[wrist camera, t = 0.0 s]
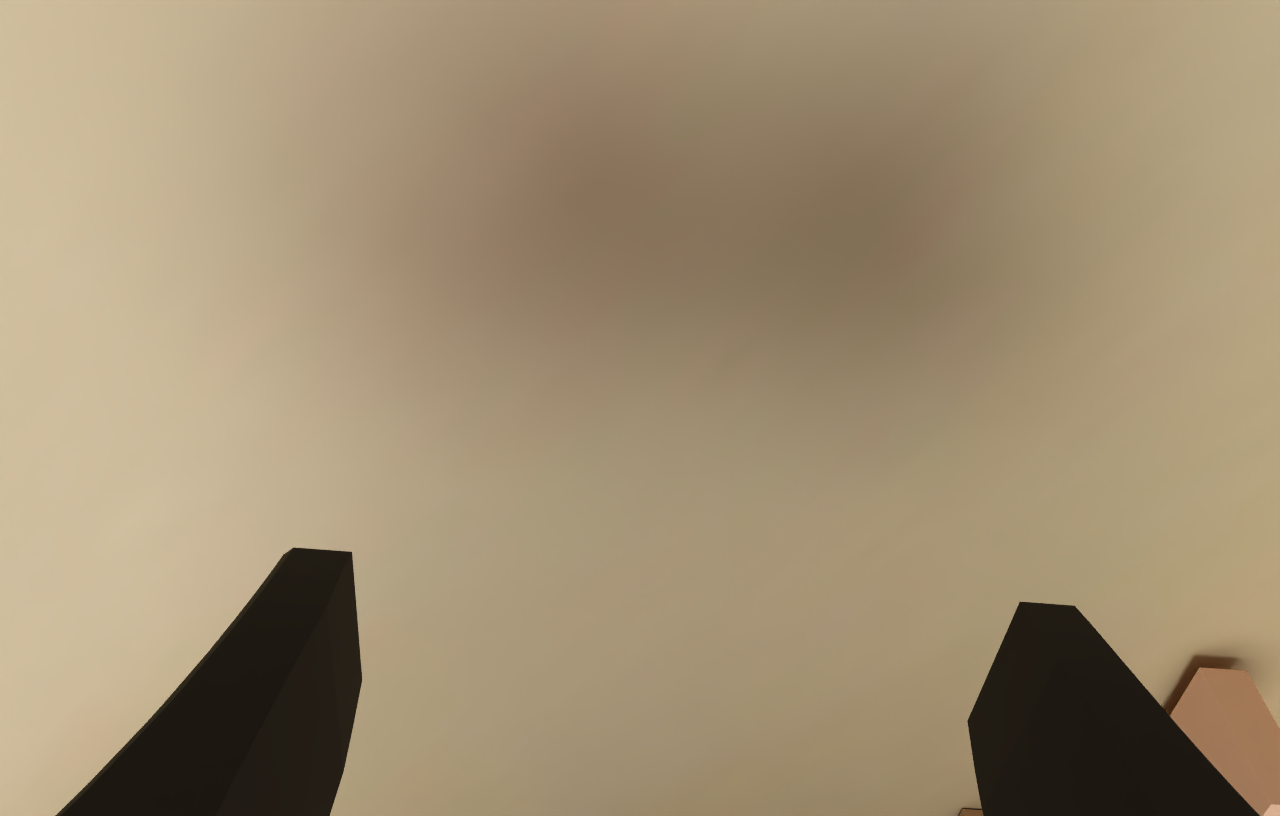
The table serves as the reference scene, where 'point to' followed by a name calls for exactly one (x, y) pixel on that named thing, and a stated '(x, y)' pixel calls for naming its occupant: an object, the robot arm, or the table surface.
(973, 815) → the dispenser
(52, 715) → the table surface
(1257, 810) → the pink flat bar
